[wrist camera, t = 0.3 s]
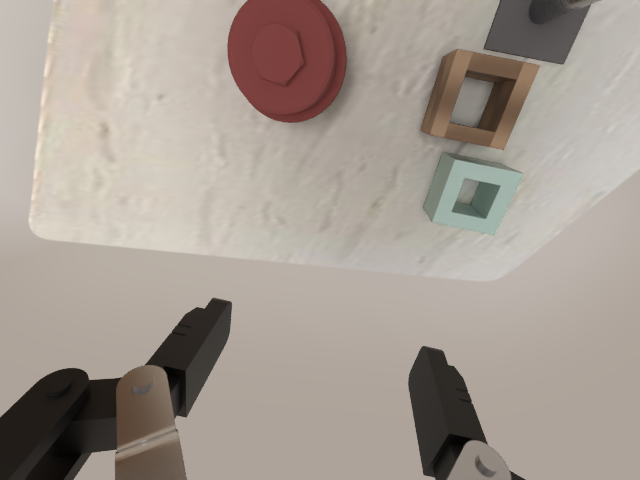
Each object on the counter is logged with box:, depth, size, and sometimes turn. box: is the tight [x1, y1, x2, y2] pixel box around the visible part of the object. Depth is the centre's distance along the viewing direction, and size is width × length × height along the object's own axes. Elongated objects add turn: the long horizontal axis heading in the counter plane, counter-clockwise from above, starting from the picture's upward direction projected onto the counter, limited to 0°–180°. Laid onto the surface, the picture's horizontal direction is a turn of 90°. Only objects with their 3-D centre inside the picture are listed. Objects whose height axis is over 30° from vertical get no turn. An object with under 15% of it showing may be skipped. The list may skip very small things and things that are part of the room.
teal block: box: [423, 152, 523, 235], centre depth 35 cm, size 7×7×5 cm
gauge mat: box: [484, 0, 591, 64], centre depth 29 cm, size 8×8×1 cm
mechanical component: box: [228, 0, 347, 123], centre depth 28 cm, size 12×10×10 cm
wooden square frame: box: [420, 49, 540, 150], centre depth 31 cm, size 7×7×5 cm
